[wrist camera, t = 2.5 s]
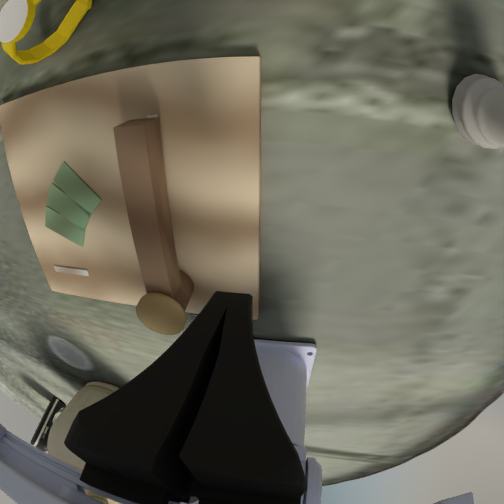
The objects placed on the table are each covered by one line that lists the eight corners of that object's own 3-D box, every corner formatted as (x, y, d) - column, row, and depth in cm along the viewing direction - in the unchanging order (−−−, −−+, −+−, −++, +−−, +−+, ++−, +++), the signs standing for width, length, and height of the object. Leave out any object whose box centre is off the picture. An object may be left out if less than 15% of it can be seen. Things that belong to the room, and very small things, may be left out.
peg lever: (200, 303, 23) (187, 338, 20) (158, 298, 24) (142, 330, 21) (179, 112, 15) (153, 126, 13) (126, 117, 16) (93, 132, 13)
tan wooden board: (258, 312, 24) (257, 321, 23) (56, 285, 26) (51, 291, 26) (260, 56, 14) (259, 56, 13) (4, 103, 16) (-4, 106, 15)
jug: (118, 368, 33) (47, 549, 13) (190, 428, 40) (152, 575, 20) (59, 374, 38) (-1, 504, 18) (124, 425, 45) (84, 542, 25)
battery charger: (65, 411, 50) (45, 454, 40) (50, 401, 49) (29, 444, 39) (71, 406, 46) (49, 453, 37) (54, 395, 45) (31, 442, 36)
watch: (89, -22, 11) (32, -40, 6) (114, -6, 12) (57, -25, 7) (39, 48, 14) (-22, 54, 9) (60, 67, 15) (-3, 75, 10)
